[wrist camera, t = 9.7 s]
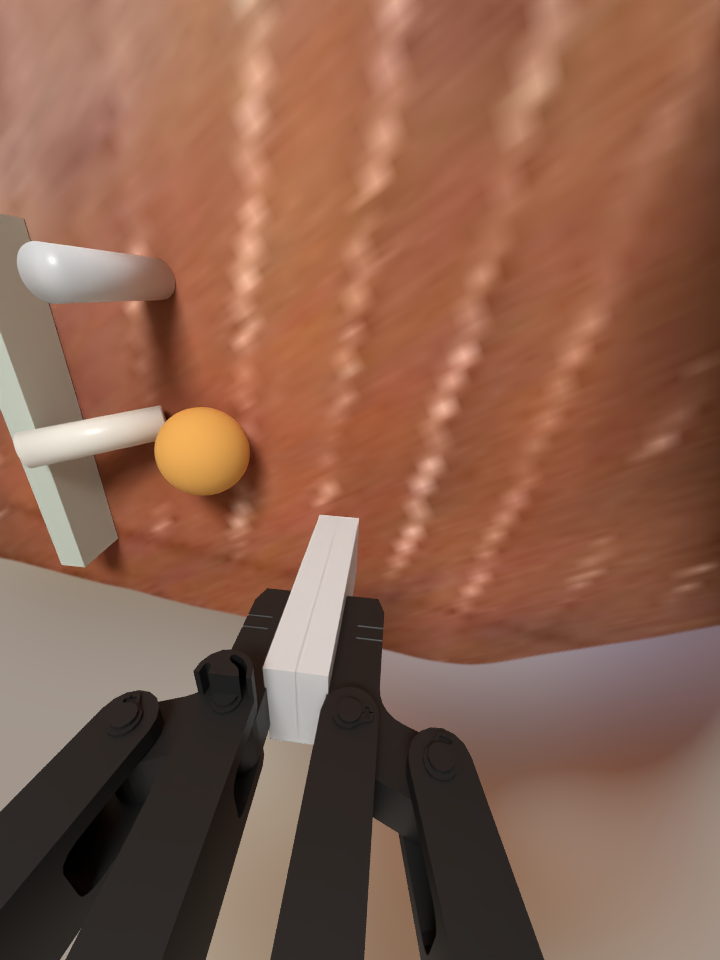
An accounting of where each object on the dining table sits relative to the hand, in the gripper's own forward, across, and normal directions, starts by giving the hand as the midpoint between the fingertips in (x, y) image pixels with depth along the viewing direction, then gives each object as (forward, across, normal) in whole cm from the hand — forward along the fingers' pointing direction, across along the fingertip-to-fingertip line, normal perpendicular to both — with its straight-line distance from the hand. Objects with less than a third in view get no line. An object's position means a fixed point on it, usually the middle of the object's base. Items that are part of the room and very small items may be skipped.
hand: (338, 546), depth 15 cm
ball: (+11, -11, -1) cm, 15 cm away
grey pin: (+14, -14, +9) cm, 22 cm away
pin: (+13, -15, 0) cm, 19 cm away
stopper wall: (+14, -23, 0) cm, 27 cm away
